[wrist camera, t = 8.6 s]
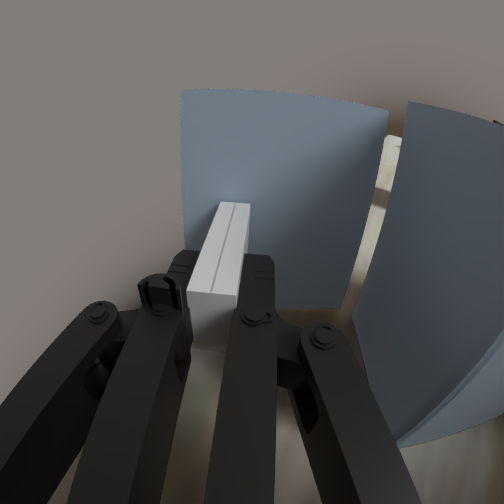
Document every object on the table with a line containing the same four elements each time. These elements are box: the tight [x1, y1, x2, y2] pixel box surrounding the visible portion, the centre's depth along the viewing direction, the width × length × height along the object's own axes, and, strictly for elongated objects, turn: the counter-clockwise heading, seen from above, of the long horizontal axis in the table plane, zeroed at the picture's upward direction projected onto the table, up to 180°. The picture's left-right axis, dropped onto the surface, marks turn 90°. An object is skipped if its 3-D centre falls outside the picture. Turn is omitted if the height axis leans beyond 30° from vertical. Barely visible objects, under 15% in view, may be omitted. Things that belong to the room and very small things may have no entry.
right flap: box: [180, 89, 389, 309], centre depth 14 cm, size 10×1×12 cm, turn 91°
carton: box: [352, 101, 504, 449], centre depth 10 cm, size 11×10×14 cm
